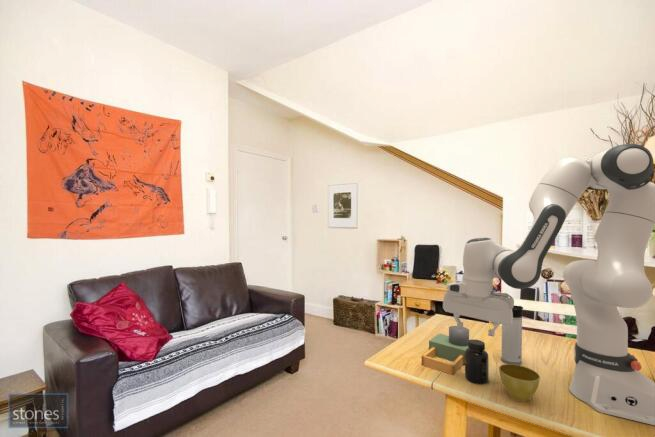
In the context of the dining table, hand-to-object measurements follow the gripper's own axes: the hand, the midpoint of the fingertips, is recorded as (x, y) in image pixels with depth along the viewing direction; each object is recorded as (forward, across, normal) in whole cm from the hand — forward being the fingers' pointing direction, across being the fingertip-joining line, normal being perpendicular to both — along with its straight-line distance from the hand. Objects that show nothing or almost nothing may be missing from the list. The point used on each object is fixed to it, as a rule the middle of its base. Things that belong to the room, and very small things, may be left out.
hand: (475, 331), depth 100 cm
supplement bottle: (+15, -1, 0) cm, 16 cm away
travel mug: (+15, -7, -22) cm, 28 cm away
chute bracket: (+15, +11, -4) cm, 20 cm away
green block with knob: (+15, +11, -13) cm, 23 cm away
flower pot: (+15, -13, +2) cm, 20 cm away
